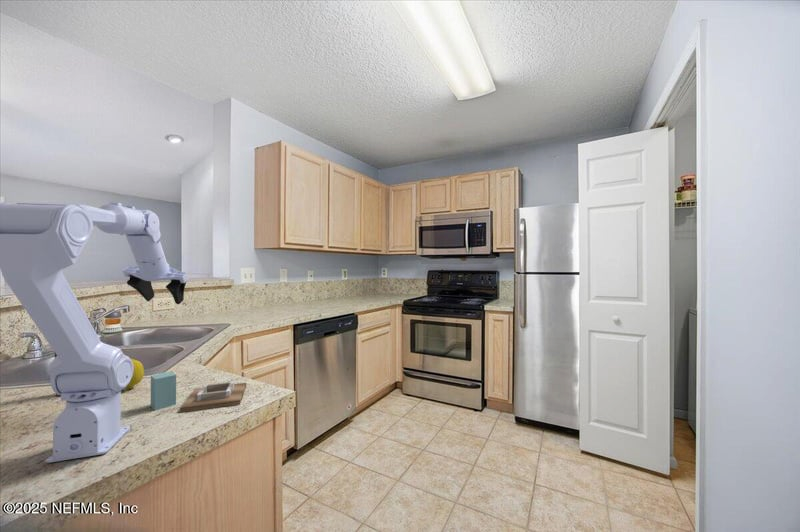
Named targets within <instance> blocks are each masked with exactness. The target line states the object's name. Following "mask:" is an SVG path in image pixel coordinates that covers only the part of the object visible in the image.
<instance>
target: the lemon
mask: <svg viewBox="0 0 800 532" xmlns="http://www.w3.org/2000/svg"><path fill="white" fill-rule="evenodd" d="M130 359H131V361H132V362H133V367H134V369H133V375H132V378H131V380H130V382H129V383H128V385H127V386H126V387H125V388H127V389H128V390H129V389H133V388H134V387H135V386H137V385H138V384H139V383H140V382H141V381H142V380H143V378H144V375H145V369H144V365H143V364H142V362H140V361H139V360H137V359H133V358H130Z"/></svg>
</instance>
